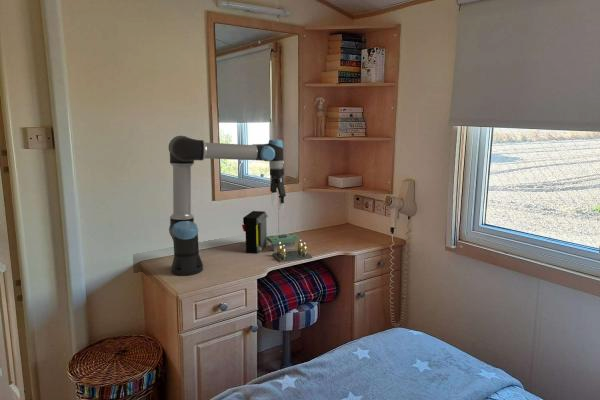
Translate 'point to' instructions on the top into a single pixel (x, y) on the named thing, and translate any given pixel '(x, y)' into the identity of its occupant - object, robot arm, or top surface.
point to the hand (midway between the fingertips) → (278, 206)
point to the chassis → (292, 253)
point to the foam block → (286, 245)
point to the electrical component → (255, 231)
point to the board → (282, 238)
